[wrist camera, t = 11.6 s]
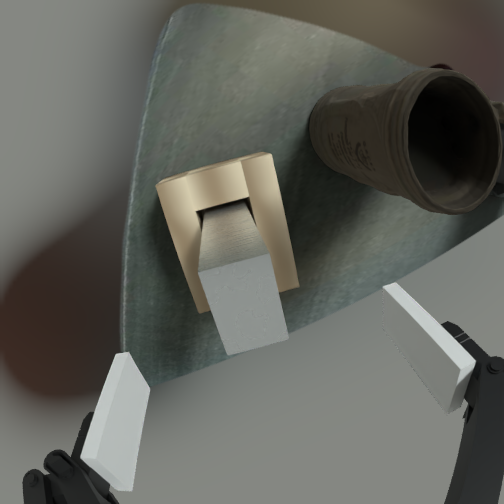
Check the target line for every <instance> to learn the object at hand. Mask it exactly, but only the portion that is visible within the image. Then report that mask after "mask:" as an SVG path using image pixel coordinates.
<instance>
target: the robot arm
mask: <svg viewBox="0 0 504 504" xmlns="http://www.w3.org/2000/svg"><path fill="white" fill-rule="evenodd" d="M499 124H500V129H501V137H502V146H503V148H502V160H501V166H500V171H499V174H498V177H497V180H496V183H495V185H494V187H493V189H492V190H491V192H490V193H489V194H490V195H494V196H497V197H501V198H504V124H503V123H499ZM383 330H384V331H385V333H386V334H387V335H388V336H389V338H390V339H391V340H392V341H393V343H394V344H395V346H396V347H397V348H398V349H399V351H400V352H401V353H402V355H403V356H404V357H405V359H406V360H407V361H408V363H409V364H410V365H411V367H412V368H413V369H414V371H415V372H416V373H417V375H418V376H419V377H420V379H421V380H422V381H423V383H424V384H425V385H426V387H427V388H428V390H429V391H430V392H431V394H432V395H433V397H434V398H435V399H436V401H437V402H438V404H439V405H440V406H441V408H442V409H443V411H444V412H445V413H446V414H449V413H450V412H452V411H454V410H456V409H458V408H459V407H461V404H462V402H463V399H465V400H466V401H467V402H468V406H467V408H466V411H465V413H464V416H463V418H465V422H464V428H463V434H462V439H461V443H460V448H459V453H458V457H457V462H456V465H455V469H454V473H453V476H452V480H451V484H450V487H449V490H448V493H447V497H446V500H445V503H444V504H498V500H499V495H500V491H501V486H502V480H503V475H504V359H502V358H501V357H497V356H494V357H490V356H488V354H486V353H485V352H484V351H483V350H482V349H481V348H480V347H479V346H478V345H477V344H476V343H475V342H474V341H473V340H472V339H470V337H469V336H468V335H467V334H466V333H464V331H462V329H461V328H460V327H458V326H457V325H455V324H453V323H451V322H448V321H447V322H445V323H443V324H441V325H440V324H439V323H438V322H437V321H436V320H435V319H434V318H433V317H432V316H431V315H430V314H429V313H428V312H427V311H425V310H424V309H423V308H422V307H421V306H420V305H419V304H418V303H417V302H416V301H415V300H414V299H413V298H412V297H411V296H410V295H408V294H407V293H406V292H405V291H404V290H403V289H402V288H401V287H400V286H399V285H398V284H396V283H392V284H389V285H386V286H383ZM149 393H150V388H149V386H148V384H147V383H146V381H145V380H144V378H143V376H142V375H141V373H140V371H139V369H138V368H137V366H136V364H135V363H134V361H133V359H132V357H131V355H130V354H129V352H125V353H119V354H116V355H115V358H114V361H113V363H112V366H111V368H110V371H109V374H108V376H107V379H106V382H105V384H104V387H103V390H102V393H101V395H100V398H99V401H98V404H97V407H96V410H95V412H89V413H88V415H87V416H86V417H85V419H84V420H83V422H82V425H81V428H80V429H81V430H80V431H79V434H78V437H77V440H76V443H75V446H74V449H73V452H72V455H71V457H70V456H69V455H68V454H67V453H66V452H65V451H63V450H54V451H52V452H50V453H49V454H48V455H47V457H46V458H45V460H44V469H45V470H47V471H48V472H49V473H50V474H48V475H44V474H43V473H42V472H41V471H39V470H37V469H32V470H30V471H28V472H27V473H26V474H25V476H24V478H23V496H24V504H119V503H118V501H117V500H116V498H115V497H114V495H113V494H112V493H111V492H110V491H109V488H110V485H111V486H113V487H114V488H115V489H116V490H119V491H133V482H134V477H135V470H136V464H137V457H138V451H139V445H140V440H141V434H142V429H143V423H144V418H145V412H146V407H147V403H148V397H149Z"/></svg>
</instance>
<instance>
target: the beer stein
mask: <svg viewBox="0 0 504 504" xmlns="http://www.w3.org/2000/svg"><path fill="white" fill-rule="evenodd" d="M499 123H503V124H504V102H493V101H490V100H489V99H488V97H487V96H486V94H485V93H484V91H483V90H482V89H481V88H480V87H479V86H478V85H477V84H476V83H475V82H474V81H473V80H471V79H470V78H468V77H467V76H465V75H464V74H461V73H458V72H456V71H453V70H443V69H435V68H428V69H424V70H419V71H415V72H413V73H411V74H410V75H408V76H406V77H405V78H403V79H402V80H401V81H400V82H398V83H393V84H379V85H373V86H362V85H353V86H345V87H339V88H336V89H334V90H331V91H330V92H328V93H326V94H325V95H324V96H323V97H322V98H321V99H319V101H318V102H317V104H316V105H315V107H314V109H313V111H312V114H311V117H310V124H309V132H310V139H311V142H312V145H313V148H314V150H315V152H316V153H317V155H318V156H319V158H320V159H321V160H322V161H323V162H324V163H325V164H326V165H327V166H328V167H330V168H331V169H332V170H334V171H336V172H338V173H341V174H345V175H347V176H349V177H350V178H352V179H355V180H356V181H357V182H360V183H362V184H367V185H369V186H372V187H374V188H376V189H377V190H379V191H382V192H385V193H387V194H390V195H396V196H402V197H404V198H406V199H409V200H411V201H412V202H413V203H415V204H416V205H418V206H419V207H421V208H423V209H425V210H428V211H430V212H436V213H444V214H448V215H458V214H464V213H467V212H469V211H472V210H474V209H475V208H476V207H477V206H478V205H480V204H481V203H482V202H483V201H484V200H485V199H486V198H487V197H488V195H489V193H490V192H491V190H492V189H493V187H494V185H495V183H496V180H497V177H498V174H499V171H500V166H501V160H502V148H503V146H502V137H501V129H500V124H499Z"/></svg>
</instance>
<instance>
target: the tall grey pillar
mask: <svg viewBox="0 0 504 504" xmlns="http://www.w3.org/2000/svg"><path fill="white" fill-rule="evenodd" d="M198 275H199V277H200V280H201V283H202V286H203V289H204V292H205V295H206V298H207V301H208V303H209V306H210V309H211V312H212V315H213V317H214V320H215V323H216V326H217V328H218V331H219V334H220V336H221V339H222V342H223V344H224V347H225V350H226V352H227V355H231V354H236V353H240V352H244V351H248V350H252V349H255V348H259V347H263V346H266V345H270V344H274V343H278V342H281V341H285V340H288V339H289V337H288V332H287V327H286V323H285V319H284V314H283V310H282V305H281V301H280V296H279V292H278V288H277V283H276V279H275V275H274V270H273V266H272V262H271V257H270V253H269V251H268V249H267V247H266V245H265V243H264V241H263V239H262V237H261V235H260V233H259V231H258V229H257V227H256V225H255V223H254V221H253V218H252V216H251V214H250V212H249V210H248V208H247V206H246V204H245V202H244V200H243V198H242V199H238V200H234V201H231V202H227V203H223V204H219V205H216V206H212V207H209V208H205V212H204V220H203V229H202V237H201V246H200V256H199V266H198Z"/></svg>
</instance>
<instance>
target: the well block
mask: <svg viewBox="0 0 504 504" xmlns="http://www.w3.org/2000/svg"><path fill="white" fill-rule="evenodd" d="M156 189H157V192H158V195H159V198H160V202H161V205H162V208H163V211H164V214H165V218H166V221H167V224H168V227H169V230H170V233H171V236H172V239H173V242H174V245H175V248H176V251H177V254H178V257H179V260H180V263H181V265H182V268H183V271H184V274H185V277H186V280H187V282H188V285H189V288H190V291H191V293H192V296H193V299H194V301H195V304H196V307H197V309H198V312H199V313H203V312H207V311H211V309H210V306H209V303H208V301H207V298H206V295H205V292H204V289H203V286H202V283H201V280H200V277H199V275H198V266H199V256H200V246H201V237H202V229H203V220H204V212H205V208H209V207H212V206H216V205H219V204H223V203H227V202H231V201H234V200H238V199H242V198H243V200H244V202H245V204H246V206H247V208H248V210H249V212H250V214H251V216H252V218H253V221H254V223H255V225H256V227H257V229H258V231H259V233H260V235H261V237H262V239H263V241H264V243H265V245H266V247H267V249H268V251H269V253H270V257H271V262H272V266H273V270H274V275H275V279H276V283H277V288H278V292H283V291H286V290H290V289H293V288H297V287H299V282H298V276H297V271H296V266H295V261H294V256H293V251H292V246H291V241H290V236H289V232H288V227H287V222H286V217H285V213H284V208H283V203H282V199H281V194H280V190H279V185H278V181H277V176H276V172H275V167H274V163H273V159H272V154H269V153H265V152H258V153H254V154H250V155H246V156H242V157H238V158H234V159H230V160H226V161H222V162H218V163H215V164H211V165H207V166H204V167H200V168H197V169H193V170H190V171H186V172H183V173H179V174H176V175H173V176H170V177H166V178H164V179H163V180H162V181H161V182H159V183H158V184H157V185H156Z"/></svg>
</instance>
